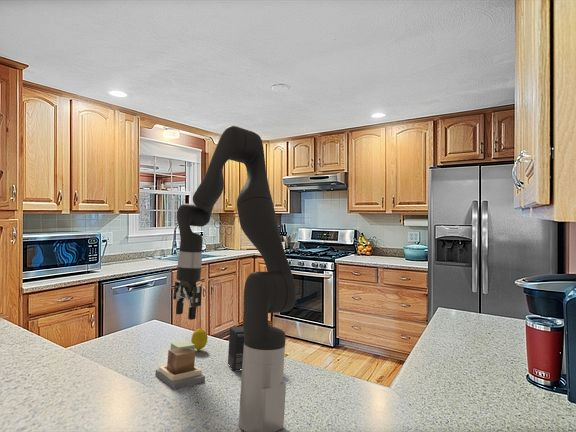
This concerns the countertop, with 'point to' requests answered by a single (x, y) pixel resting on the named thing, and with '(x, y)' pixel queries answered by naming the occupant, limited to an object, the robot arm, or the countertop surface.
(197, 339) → the lemon
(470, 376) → the countertop surface
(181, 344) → the sage block
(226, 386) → the countertop surface
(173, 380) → the base board
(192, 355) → the walnut block
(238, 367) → the small box
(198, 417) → the countertop surface
